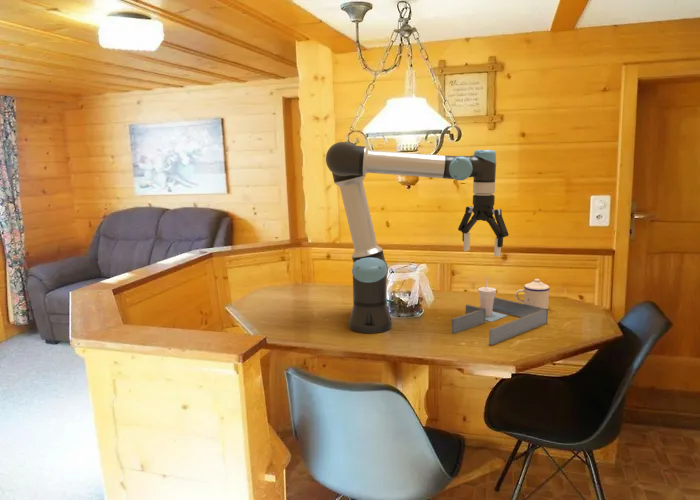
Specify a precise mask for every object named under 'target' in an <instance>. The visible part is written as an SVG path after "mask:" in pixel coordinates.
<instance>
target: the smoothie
mask: <svg viewBox="0 0 700 500" xmlns="http://www.w3.org/2000/svg"><path fill="white" fill-rule="evenodd" d="M488 280H489V277H488V276H486V277H485V282H486V283H485V286H484V287H483V286H482V287H479V288H478V290H477V292H478V295H479V304H480V308H484V309H486V316H491V315H492V311H493V304H494V297H496V293H497V289H496V288H494V287H490V286H489V281H488Z"/></svg>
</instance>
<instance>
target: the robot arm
mask: <svg viewBox="0 0 700 500" xmlns="http://www.w3.org/2000/svg"><path fill="white" fill-rule="evenodd" d="M325 163H326V166H327V168H328V170H329V171H330V172H331V175H332V178H333V182H334V185H336V186H338V187H339V189H340V194H341V198H342V203H343V207H344V211H345V212H344V213H345V215H346V220H347V223H348V224H347V225H348V228H349V233H350V236H351V240H352V241H351V242H352V245H353V249H354V251H353V253H352V254H351V258H352V262H353V264H352V269H351V274H352V294H353V295H352V296H353V298H352V299H353V301H352V302H353V304H352V309H351V313H350V317H349V319H348V328H349V329H350V330H351V331H354V332H356V333H361V334H376V333H378V334H379V333H382V332H383V333H384V332H386V331H389V330H390V329H392V327H393V319H392V317H391V314H390V311H389V307H388V302H387V301H388V295H387V294H388V293H387V289H388V288H387V286H388V285H387V282H388V280H387V279H388V274H389V266H388V262H387V261H386V259H385V255H384V254H385V253H384V250H383V247H381V246H379V245H378V242H377V238H376V233H375V230H374V225H373V220H372V215H371V212H370V208H369V204H368V203H369V201H368V200H367V198H368V197H367V194H366V191H365V190H366V189H365V186H364V180H365V178H366V177H367V176H366V174H381V175H392V176H393V175H394V176H408V177H418V178H419V177H421V178H422V177H423V178H433V179H434V178H436V179H445V180H446V179H448V180H456V181H465V180H467V179H468V178H473V183H472V193H473V195H472V205H471V206H466V207H465V212H464V214H463V216H462V219H461V221H460V223H459V226H458V228H457V230H458V231H459V232H461V233H462V242H463V250H462V251H464V252H469V251H471V232H470V230H472V228H473V227H474V225H475V224H476V223H477V222H478V221H481V222H482V221H483V222H486V223H487V224H488V225H489V227H490V229H492V231H493V232H494V234H495V237H494V250H493V251H494V253H493V254H494V255H493V256H494V257H495V258H496V257H500V256H501V254H502V253H501V252H502V247H503V246H504V238H506V237H508V236H509V235H510V234H509V232H508V229H507V226H506V223H505V220H504V217H503V213H502V209H501V208H499V209H494V206H495V202H496V201H495V199H496V198H495V197H496V195H494V194H495V193H496V191H495V190H496V174H497V173H496V171H497V170H496V169H497V153H496V151H495V150H493V149H476V150H474V153H473V155H445V154H443V155H442V154H433V153H432V154H430V153H418V152H415V153H414V152H406V151H405V152H404V151H402V152H401V151H390V150H378V149H377V150H375V149H374V150H373V149H369V148H368V147H367V146H362V145H357V144H355V143H353V142H351V141H339V142H336V143H334V144H332V145H331V146H330V147H329V148H328V150H327V152H326V154H325ZM472 214H473V215H472Z"/></svg>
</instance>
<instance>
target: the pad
mask: <svg viewBox="0 0 700 500" xmlns="http://www.w3.org/2000/svg"><path fill="white" fill-rule="evenodd" d="M506 317H509V314H505V313H501V312H497V311H493V310H492V315H491V316H486V319H485V322H488V323H489V322H490V323H493V322H495V321H498V320H500V319H504V318H506Z"/></svg>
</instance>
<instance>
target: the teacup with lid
mask: <svg viewBox="0 0 700 500" xmlns="http://www.w3.org/2000/svg"><path fill="white" fill-rule="evenodd" d="M523 286H524V287H523V288H524V289H518V290H516V292H515V298H516V300H517V302H519V303H523V304H527V305H532V306H536V307H540V308H545V309H548V310H549V299H550V298H549V296H550V293H549V292H550V291H549V290H550V289H551V288H550V286H549V285H548V284H546V283H544V282H542V281H541V279H539V278H534V280H533V281H531V282H529V283H525V284H524V285H523ZM520 292H521V293H522V292H523V293H524V298H523V299H521V298H520V297H519V293H520Z"/></svg>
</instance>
